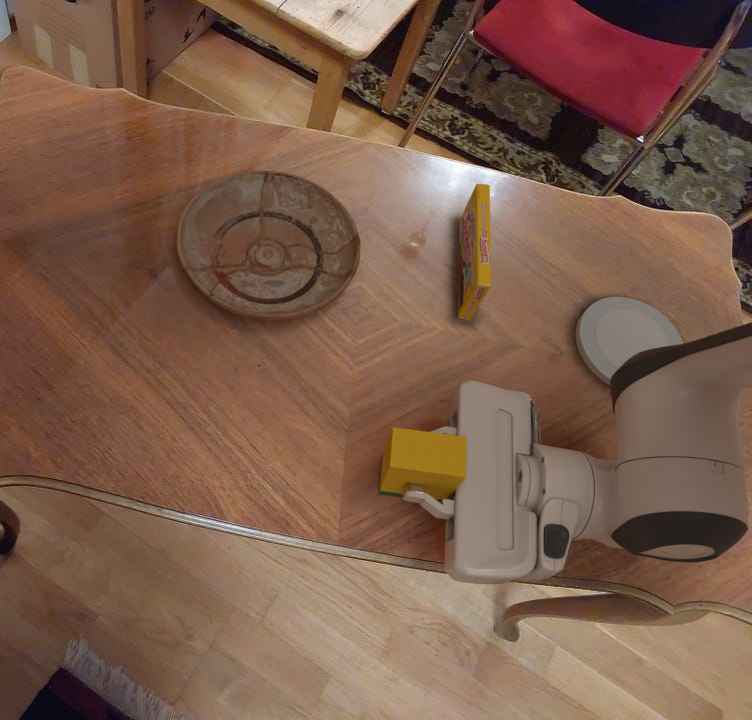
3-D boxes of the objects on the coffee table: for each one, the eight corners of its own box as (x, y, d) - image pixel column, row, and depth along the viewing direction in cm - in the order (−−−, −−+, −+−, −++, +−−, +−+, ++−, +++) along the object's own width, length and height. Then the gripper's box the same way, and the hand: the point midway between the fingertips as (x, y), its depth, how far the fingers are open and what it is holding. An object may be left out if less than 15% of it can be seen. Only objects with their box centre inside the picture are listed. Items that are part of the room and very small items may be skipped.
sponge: (381, 457, 70) (392, 426, 62) (447, 466, 70) (467, 436, 62) (377, 494, 69) (389, 467, 61) (446, 504, 68) (466, 478, 60)
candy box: (455, 222, 93) (476, 181, 86) (470, 224, 93) (492, 184, 86) (454, 318, 86) (477, 283, 78) (470, 321, 86) (495, 286, 78)
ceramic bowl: (326, 360, 81) (333, 341, 77) (150, 302, 83) (147, 280, 79) (372, 222, 92) (380, 198, 87) (214, 173, 94) (214, 147, 89)
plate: (700, 352, 86) (706, 348, 85) (643, 416, 81) (649, 412, 80) (613, 283, 90) (618, 278, 89) (554, 340, 85) (558, 335, 84)
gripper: (553, 383, 67) (420, 359, 67) (561, 589, 58) (408, 562, 58) (526, 406, 73) (404, 385, 73) (531, 598, 64) (391, 573, 64)
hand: (406, 465), depth 65 cm, fingers closed on sponge, 4 cm apart
